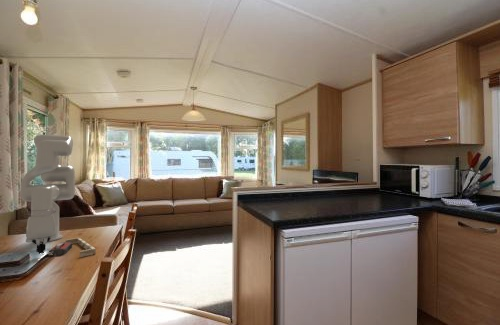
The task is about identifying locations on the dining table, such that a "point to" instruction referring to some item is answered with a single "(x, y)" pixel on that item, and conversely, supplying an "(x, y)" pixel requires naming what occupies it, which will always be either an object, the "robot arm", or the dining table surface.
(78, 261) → the dining table surface
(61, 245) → the walkie-talkie
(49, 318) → the dining table surface
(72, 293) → the dining table surface
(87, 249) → the beige segmented bracket
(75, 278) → the dining table surface
